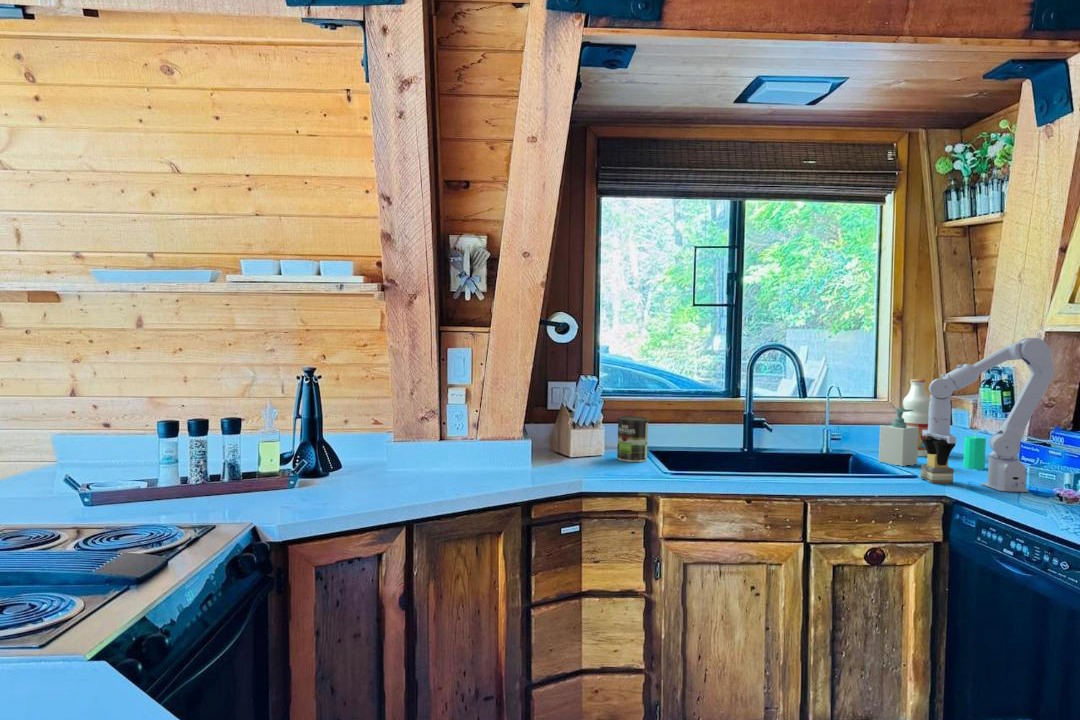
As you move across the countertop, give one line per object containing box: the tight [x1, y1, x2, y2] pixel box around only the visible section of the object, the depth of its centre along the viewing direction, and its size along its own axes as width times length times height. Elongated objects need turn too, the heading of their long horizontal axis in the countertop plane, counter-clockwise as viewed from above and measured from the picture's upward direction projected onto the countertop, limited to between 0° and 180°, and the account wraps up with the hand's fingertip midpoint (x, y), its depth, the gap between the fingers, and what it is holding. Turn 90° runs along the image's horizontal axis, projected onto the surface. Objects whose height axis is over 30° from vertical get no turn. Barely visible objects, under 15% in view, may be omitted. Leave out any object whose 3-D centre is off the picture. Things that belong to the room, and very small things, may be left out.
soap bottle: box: [878, 407, 919, 467], centre depth 234 cm, size 9×9×19 cm
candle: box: [962, 432, 987, 470], centre depth 228 cm, size 6×6×12 cm
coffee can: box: [616, 416, 649, 463], centre depth 232 cm, size 10×10×14 cm
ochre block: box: [926, 454, 949, 468], centre depth 206 cm, size 4×4×4 cm
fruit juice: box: [902, 378, 930, 458], centre depth 252 cm, size 9×9×28 cm
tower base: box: [920, 463, 955, 485], centre depth 206 cm, size 6×6×4 cm
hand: (937, 463), depth 206 cm, fingers closed on ochre block, 4 cm apart
